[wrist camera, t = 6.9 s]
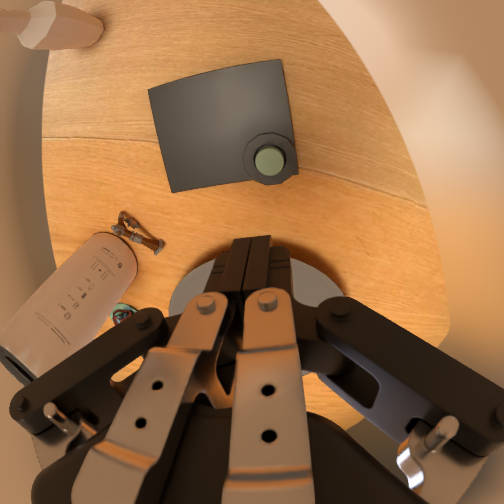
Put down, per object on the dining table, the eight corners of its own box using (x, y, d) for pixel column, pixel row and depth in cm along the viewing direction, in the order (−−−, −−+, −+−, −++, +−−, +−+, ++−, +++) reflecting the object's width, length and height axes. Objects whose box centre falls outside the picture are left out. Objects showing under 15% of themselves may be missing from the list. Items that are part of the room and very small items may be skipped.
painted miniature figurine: (139, 351, 50) (110, 346, 43) (126, 327, 54) (98, 319, 47) (160, 323, 50) (131, 315, 44) (145, 300, 54) (117, 290, 48)
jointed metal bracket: (118, 205, 36) (113, 226, 33) (163, 228, 41) (162, 249, 38) (113, 213, 36) (107, 234, 33) (156, 235, 41) (155, 256, 38)
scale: (280, 60, 26) (281, 56, 23) (298, 175, 33) (300, 181, 30) (152, 89, 28) (141, 89, 26) (176, 193, 35) (168, 200, 33)
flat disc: (369, 252, 37) (378, 269, 33) (318, 369, 51) (320, 387, 47) (174, 223, 37) (162, 237, 34) (181, 350, 52) (175, 367, 48)
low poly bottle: (116, 27, 23) (-12, 4, 4) (86, 60, 25) (-43, 66, 6) (96, 7, 21) (-21, -16, 2) (69, 38, 23) (-50, 39, 4)
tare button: (281, 144, 28) (281, 146, 27) (285, 170, 30) (285, 173, 28) (254, 148, 29) (253, 150, 27) (258, 173, 30) (257, 177, 29)
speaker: (78, 246, 41) (-16, 350, 19) (110, 218, 38) (-5, 338, 16) (113, 291, 45) (41, 406, 23) (150, 271, 42) (70, 410, 20)
